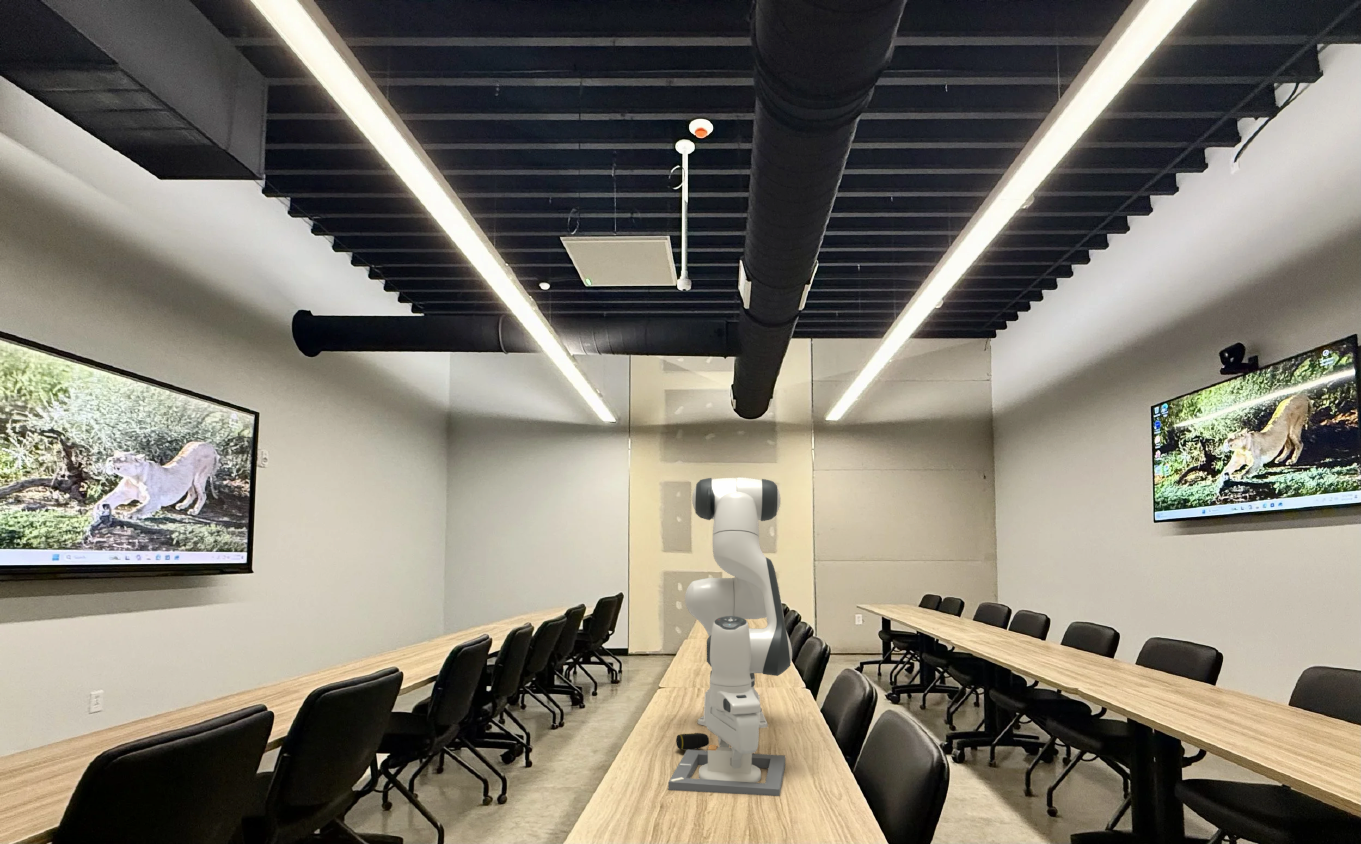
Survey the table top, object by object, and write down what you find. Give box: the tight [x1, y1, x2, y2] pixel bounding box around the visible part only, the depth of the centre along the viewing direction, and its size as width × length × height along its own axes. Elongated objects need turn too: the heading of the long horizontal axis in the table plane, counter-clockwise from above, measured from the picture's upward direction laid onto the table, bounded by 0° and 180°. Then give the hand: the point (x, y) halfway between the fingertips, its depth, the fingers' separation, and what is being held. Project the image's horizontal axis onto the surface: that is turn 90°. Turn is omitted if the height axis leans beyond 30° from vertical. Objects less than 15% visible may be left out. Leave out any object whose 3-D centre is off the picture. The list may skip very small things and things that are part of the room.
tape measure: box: [675, 732, 710, 752], centre depth 193 cm, size 7×7×4 cm
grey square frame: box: [667, 749, 786, 797], centre depth 173 cm, size 22×22×3 cm
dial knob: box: [698, 744, 762, 783], centre depth 173 cm, size 13×13×6 cm
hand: (730, 763), depth 173 cm, fingers closed on dial knob, 4 cm apart
